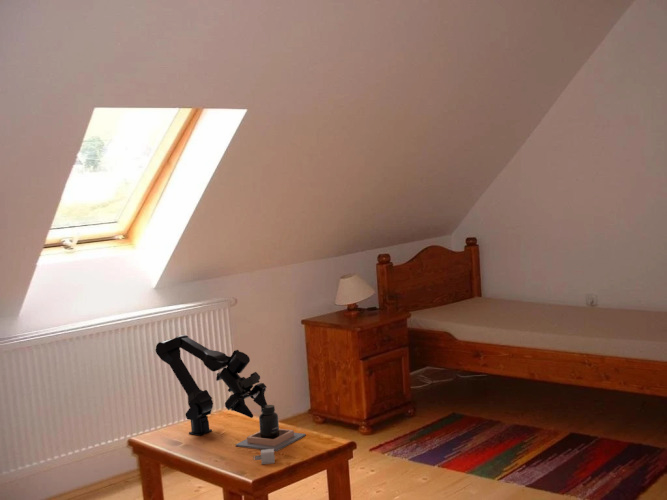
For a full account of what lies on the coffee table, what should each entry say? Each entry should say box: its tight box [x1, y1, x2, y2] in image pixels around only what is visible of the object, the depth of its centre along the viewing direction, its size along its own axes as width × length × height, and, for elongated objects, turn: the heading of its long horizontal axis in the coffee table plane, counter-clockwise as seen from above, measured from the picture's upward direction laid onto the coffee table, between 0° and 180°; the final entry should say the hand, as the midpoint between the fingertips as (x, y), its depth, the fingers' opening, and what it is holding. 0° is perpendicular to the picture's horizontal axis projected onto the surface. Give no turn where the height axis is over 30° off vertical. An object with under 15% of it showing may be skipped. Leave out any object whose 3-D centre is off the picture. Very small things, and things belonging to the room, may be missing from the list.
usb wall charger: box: [252, 449, 276, 465], centre depth 262 cm, size 4×7×4 cm, turn 95°
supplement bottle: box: [258, 404, 280, 439], centre depth 285 cm, size 7×7×12 cm
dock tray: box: [235, 428, 306, 452], centre depth 285 cm, size 18×18×3 cm
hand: (260, 413), depth 287 cm, fingers open, 9 cm apart
